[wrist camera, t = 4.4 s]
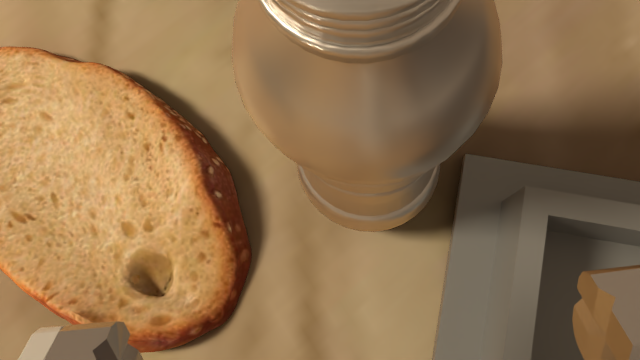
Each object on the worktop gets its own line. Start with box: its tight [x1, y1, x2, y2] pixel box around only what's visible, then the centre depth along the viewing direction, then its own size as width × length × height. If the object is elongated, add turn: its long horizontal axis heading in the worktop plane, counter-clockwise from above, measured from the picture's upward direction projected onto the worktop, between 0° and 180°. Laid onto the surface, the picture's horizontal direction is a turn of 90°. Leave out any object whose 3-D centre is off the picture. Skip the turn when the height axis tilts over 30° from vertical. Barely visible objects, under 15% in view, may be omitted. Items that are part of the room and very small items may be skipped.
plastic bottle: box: [232, 0, 502, 232], centre depth 18 cm, size 6×7×20 cm
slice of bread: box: [0, 47, 252, 353], centre depth 27 cm, size 18×18×4 cm
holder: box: [432, 154, 640, 360], centre depth 22 cm, size 15×15×5 cm
